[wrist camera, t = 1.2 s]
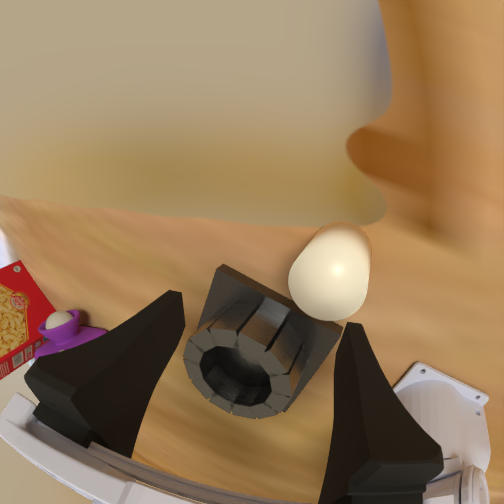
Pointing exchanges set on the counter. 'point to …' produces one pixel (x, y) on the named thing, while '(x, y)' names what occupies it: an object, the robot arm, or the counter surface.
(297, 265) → the plug
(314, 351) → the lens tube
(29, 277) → the food packaging
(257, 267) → the counter surface
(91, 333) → the toy camera
